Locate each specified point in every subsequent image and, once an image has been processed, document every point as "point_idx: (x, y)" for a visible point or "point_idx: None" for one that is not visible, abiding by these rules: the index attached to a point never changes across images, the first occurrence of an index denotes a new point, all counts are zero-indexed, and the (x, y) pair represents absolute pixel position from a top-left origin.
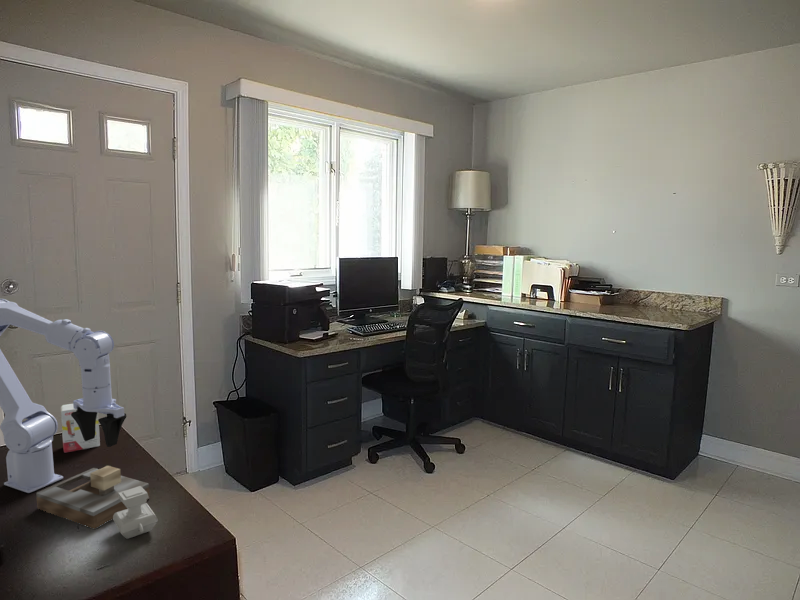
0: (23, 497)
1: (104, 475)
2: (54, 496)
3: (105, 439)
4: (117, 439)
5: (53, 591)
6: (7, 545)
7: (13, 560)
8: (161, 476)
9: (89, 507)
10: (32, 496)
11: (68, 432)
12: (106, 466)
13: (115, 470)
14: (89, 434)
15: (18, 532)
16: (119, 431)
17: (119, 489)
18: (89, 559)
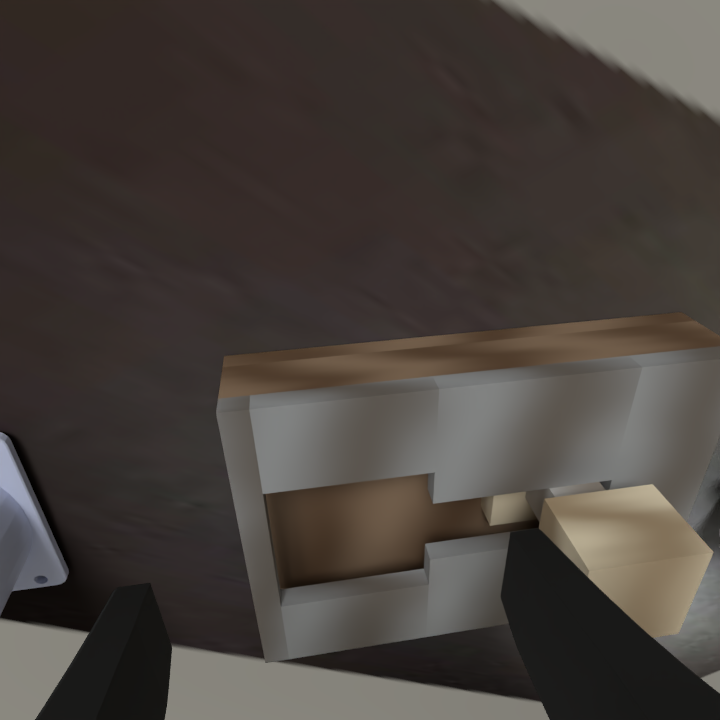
0: (90, 590)
1: (673, 625)
2: (381, 635)
3: (543, 692)
4: (574, 566)
5: (713, 669)
6: (424, 682)
7: (512, 687)
8: (567, 69)
9: None
10: (114, 569)
11: None
12: (594, 580)
13: (695, 574)
14: (150, 688)
15: (380, 655)
16: (662, 648)
17: (626, 468)
18: (715, 598)
